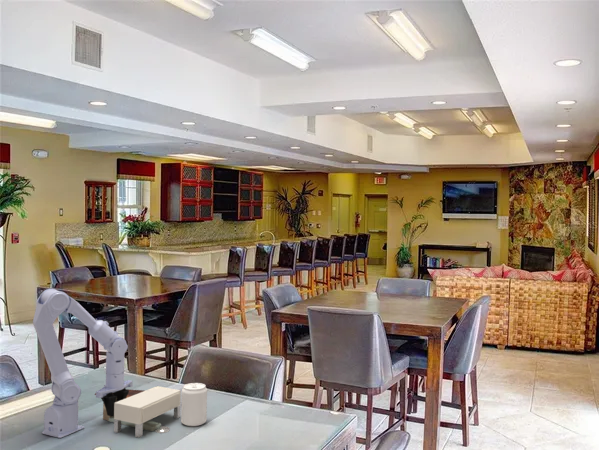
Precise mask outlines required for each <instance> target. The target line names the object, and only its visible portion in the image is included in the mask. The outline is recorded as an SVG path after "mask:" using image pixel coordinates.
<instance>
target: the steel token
mask: <svg viewBox="0 0 599 450" xmlns="http://www.w3.org/2000/svg"><path fill="white" fill-rule="evenodd" d="M170 429H171V428H170V427H169V426H165V425H164V426H162V425H161V427H158V428H156V429H155V430H154V432H155V433H157V434H166V433H169V432H170Z"/></svg>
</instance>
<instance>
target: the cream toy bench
mask: <svg viewBox="0 0 599 450" xmlns="http://www.w3.org/2000/svg"><path fill="white" fill-rule="evenodd" d="M181 406H182V389H174V388H171V387H170V388H169V387H165V386H158V385H157V386H154V387H151V388H149V389H146V390H145V391H143V392H141V393H138V394H136V395H133V396H131V397H128V398H126V399H123V400H120V401H118V402H115V403H114V422H113V432H114V433H117V434H118V433H120V432H121V431H122V424H121V421H125V422H130V423H134V424H135V427H134V428H135V429H134V430H135V435H134V436H135V438H138V439H139V438H142V437H143V435H144V434H143V430H144V429H143V423H144V422H146V421H151V420H153V419H154V418H156V417H158V416H161V415H163V414H165V413H167V412H169V411H171V410H173V419H181Z"/></svg>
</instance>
